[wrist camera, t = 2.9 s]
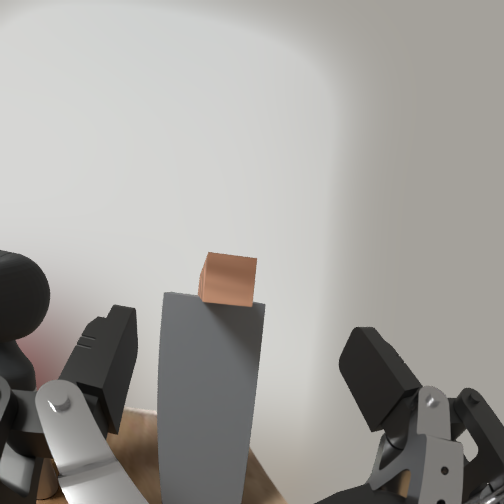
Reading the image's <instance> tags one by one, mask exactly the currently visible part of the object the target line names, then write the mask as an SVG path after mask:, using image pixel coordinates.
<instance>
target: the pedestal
mask: <svg viewBox="0 0 504 504" xmlns="http://www.w3.org/2000/svg"><path fill="white" fill-rule="evenodd" d="M264 313H265V304H262V303H257V302H253V304H252V307H248V306H237V305H227V304H218V303H209V302H203V301H202V300H201V298H200V297H199V296H198V295H190V294H182V293H175V292H165V293H164V298H163V308H162V319H161V320H162V321H161V331H160V345H159V346H160V347H159V365H158V397H157V398H158V399H157V427H158V457H159V474H160V486H161V497H162V504H241V502H242V495H243V488H244V481H245V474H246V466H247V459H248V452H249V444H250V436H251V428H252V420H253V412H254V404H255V396H256V387H257V378H258V370H259V361H260V351H261V342H262V333H263V323H264Z"/></svg>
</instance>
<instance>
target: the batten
mask: <svg viewBox="0 0 504 504" xmlns="http://www.w3.org/2000/svg"><path fill="white" fill-rule="evenodd" d="M256 264H257V258H250V257H242V256H234V255H227V254H219V253H212V252H208V255H207V258H206V260H205V263H204V266H203V269H202V271H201V274H200V280H199V289H198V295H199V297H200V298H201V300H202V301H203V302H209V303H218V304H227V305H237V306H248V307H252V304H253V293H254V284H255V274H256Z"/></svg>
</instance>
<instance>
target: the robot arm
mask: <svg viewBox="0 0 504 504" xmlns="http://www.w3.org/2000/svg"><path fill="white" fill-rule="evenodd" d="M49 302H50V289H49V284H48V281H47V278H46V276H45V274H44V273H43V271H42V270H41V268H40V267H39V266H38V265H37V264H36V263H35V262H33V261H32V260H31V259H29V258H28V257H25V256H23V255H21V254H16V253H12V252H7V251H2V250H0V504H36V499H45V498H49V497H51V496H53V495H54V494H55V493H56V491H57V490H58V481H59V484H60V486H61V489H62V491H63V493H64V495H65V497H66V499H67V501H68V502H69V504H149V503H148V502H147V501H146V499H145V498H144V497H143V495H142V494H141V493H140V491H139V490H138V489H137V487H136V486H135V485H134V483H133V482H132V480H131V479H130V478H129V476H128V475H127V473H126V472H125V470H124V469H123V467H122V466H121V464H120V463H119V461H118V460H117V458H116V457H115V456H114V454H113V453H112V451H111V449H110V447H109V446H108V444H107V442H106V438H107V433H112V434H117V435H118V432H119V427H120V422H121V418H122V413H123V409H124V405H125V401H126V396H127V392H128V389H129V385H130V381H131V377H132V373H133V369H134V366H135V363H136V358H137V352H138V337H137V319H136V310H135V308H131V307H125V306H119V305H113V307H112V308H111V310H110V312H109V314H108V316H107V318H104V317H97V318H96V319H94V320H93V321H91V322H90V323H89V324H88V325H87V326H86V328H85V330H84V331H83V333H82V337H80V339H79V340H78V342H77V346H75V348H74V350H73V351H72V353H71V355H70V357H69V359H68V361H67V363H66V365H65V367H64V369H63V371H62V373H61V375H60V377H59V379H58V380H52V381H49V382H47V383H45V384H44V385H42V386H41V387H40V389H39V390H38V391H37V389H36V380H35V371H34V367H33V365H32V363H31V362H30V361H29V359H28V358H27V357H26V356H25V355H24V354H23V352H22V351H21V350H20V348H19V347H18V345H17V343H16V341H15V340H16V339H20V338H22V337H25V336H27V335H29V334H31V333H32V332H33V331H34V330H35V329H36V328H37V327H38V326H39V325H40V324H41V322H42V321H43V319H44V317H45V315H46V313H47V310H48V307H49ZM398 355H399V354H398V353H397V352H396V351H395V349H394V348H393V347H392V346H391V345H390V344H389V343H387V342H386V341H385V340H384V339H383V338H382V337H381V335H380V334H379V333H378V332H377V330H375V328H373V327H356V328H354V329H353V330H352V332H351V335H350V337H349V339H348V341H347V343H346V345H345V347H344V349H343V352H342V354H341V356H340V359H339V369H340V372H341V374H342V376H343V378H344V379H345V381H346V383H347V385H348V387H349V389H350V391H351V393H352V395H353V397H354V399H355V401H356V403H357V405H358V407H359V409H360V411H361V412H362V414H363V416H364V418H365V420H366V422H367V424H368V426H369V428H370V430H371V432H375V431H379V430H382V429H384V431H385V433H384V434H383V435H382V437H381V439H380V444H379V448H378V452H377V455H376V459H375V463H374V466H373V470H372V473H371V476H370V477H369V479H368V480H367V482H366V483H365V484H364V485H361V486H358V487H355V488H351V489H348V490H344V491H340V492H337V493H335V494H333V495H331V496H329V497H327V498H325V499H323V500H321V501H319V502H317V503H315V504H504V426H503V425H502V423H501V422H500V420H499V419H498V418H497V416H496V415H495V413H494V412H493V410H492V409H491V408H490V406H489V405H488V404H487V403H486V401H485V400H484V398H483V397H482V396H481V395H480V394H479V393H478V392H477V391H476V390H474V389H471V388H465V389H463V390H462V391H461V393H460V394H459V395H458V397H457V398H447V397H446V395H445V394H444V393H443V392H442V391H441V390H439V389H438V388H435V387H433V386H424V387H423V386H422V385H421V384H420V382H419V381H418V379H417V378H416V377H415V375H414V374H413V373H412V372H411V370H410V369H409V367H408V366H407V365H406V364H405V363H404V361H403V360H402V358H401V357H400V356H398ZM466 429H467V430H468V431H469V433H470V434H471V436H472V438H473V439H474V441H475V442H476V444H477V446H478V454H477V456H476V457H475V458H474V459H473V460H472V461H471V462H469V461H468V460H467V459H466V457H465V455H464V454H463V445H462V443H461V442H457V441H456V439H457V437H459V436H460V435H461V434H462V433H463V431H465V430H466ZM51 459H54V460H55V463H56V465H57V467H58V470H59V475H58V480H57V478H56V474H55V471H54V468H53V465H52V462H51ZM487 483H489V484H487Z"/></svg>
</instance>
